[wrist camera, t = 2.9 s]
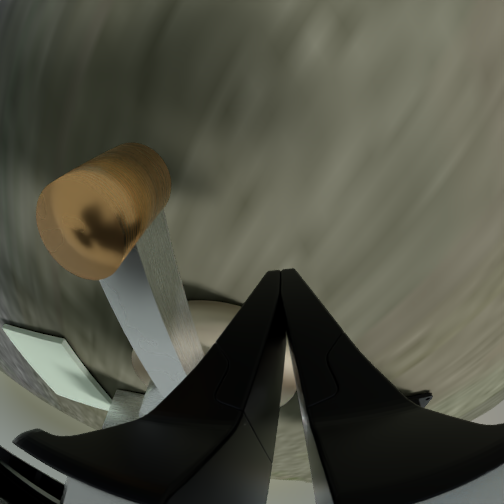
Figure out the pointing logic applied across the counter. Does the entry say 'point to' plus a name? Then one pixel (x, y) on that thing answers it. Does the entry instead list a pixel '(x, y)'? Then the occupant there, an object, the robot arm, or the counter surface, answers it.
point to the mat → (58, 366)
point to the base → (210, 328)
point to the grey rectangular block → (123, 408)
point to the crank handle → (126, 256)
